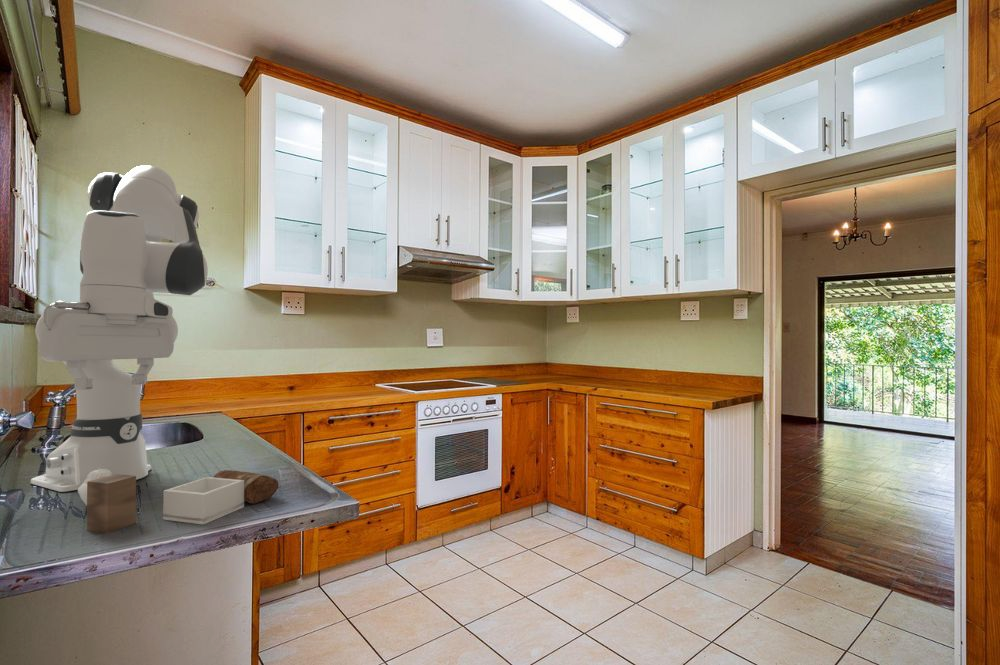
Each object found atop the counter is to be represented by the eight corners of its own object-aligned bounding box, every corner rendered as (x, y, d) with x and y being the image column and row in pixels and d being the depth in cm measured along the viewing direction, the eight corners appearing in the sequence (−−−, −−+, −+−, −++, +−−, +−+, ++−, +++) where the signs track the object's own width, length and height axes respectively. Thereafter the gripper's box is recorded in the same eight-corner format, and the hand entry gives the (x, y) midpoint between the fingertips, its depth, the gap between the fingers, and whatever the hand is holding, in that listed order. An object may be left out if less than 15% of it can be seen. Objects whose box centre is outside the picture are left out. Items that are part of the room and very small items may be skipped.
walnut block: (86, 530, 79) (87, 481, 79) (115, 520, 84) (116, 474, 84) (107, 533, 78) (107, 483, 78) (135, 522, 82) (136, 475, 83)
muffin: (73, 506, 90) (73, 469, 90) (113, 498, 95) (113, 462, 95) (83, 513, 87) (84, 474, 87) (124, 504, 92) (125, 467, 92)
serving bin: (163, 519, 84) (163, 490, 84) (206, 503, 92) (206, 476, 92) (203, 524, 81) (203, 494, 81) (244, 507, 90) (244, 480, 90)
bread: (247, 509, 89) (247, 479, 89) (206, 490, 101) (206, 463, 101) (280, 500, 94) (280, 472, 94) (238, 483, 106) (238, 457, 106)
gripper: (61, 299, 71) (59, 393, 70) (180, 308, 91) (179, 382, 90) (28, 300, 72) (26, 392, 72) (152, 309, 92) (152, 381, 92)
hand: (113, 386), depth 81 cm, fingers open, 8 cm apart
